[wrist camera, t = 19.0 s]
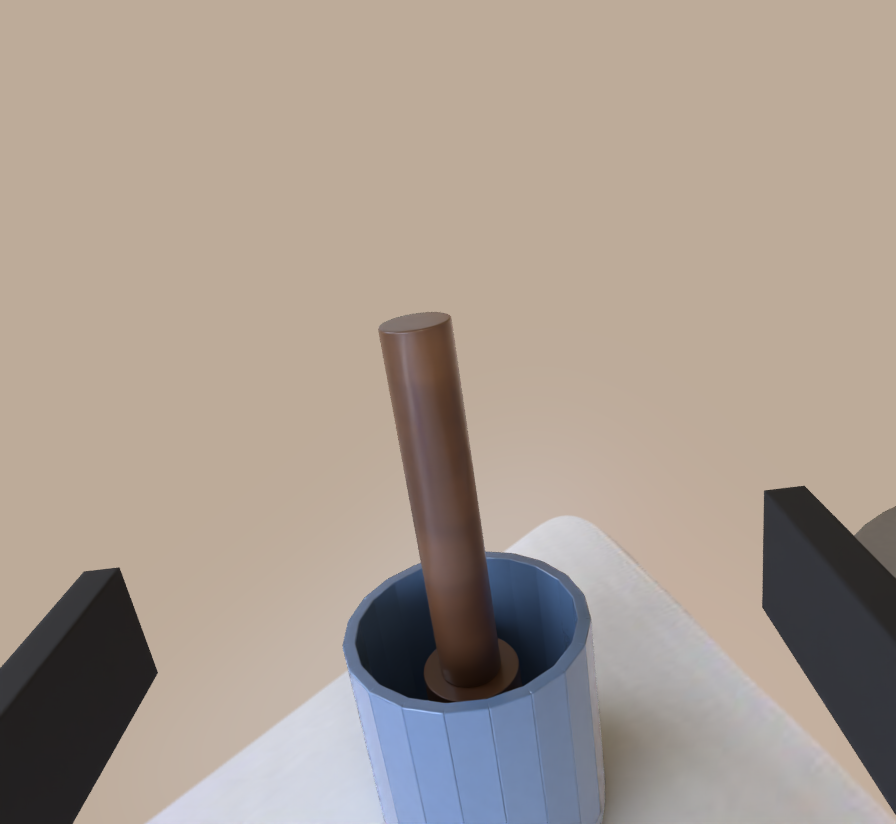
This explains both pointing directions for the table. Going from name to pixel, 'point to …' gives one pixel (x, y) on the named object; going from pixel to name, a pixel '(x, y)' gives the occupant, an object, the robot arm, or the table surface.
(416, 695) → the blue faceted pencil cup
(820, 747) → the table surface
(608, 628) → the table surface
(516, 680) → the muddler
